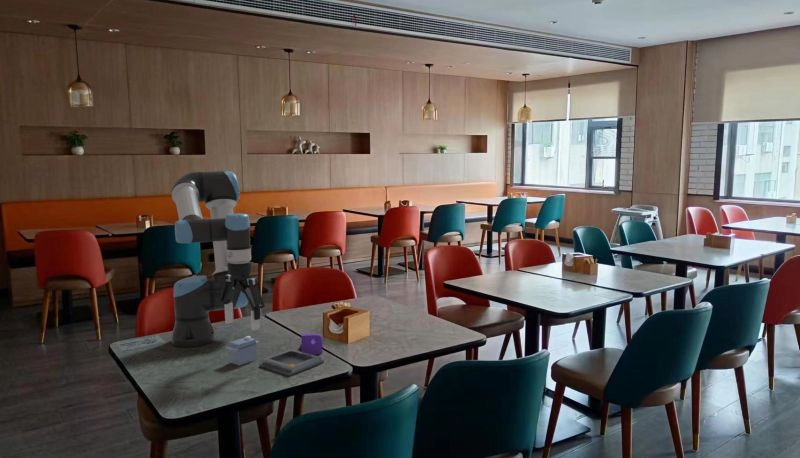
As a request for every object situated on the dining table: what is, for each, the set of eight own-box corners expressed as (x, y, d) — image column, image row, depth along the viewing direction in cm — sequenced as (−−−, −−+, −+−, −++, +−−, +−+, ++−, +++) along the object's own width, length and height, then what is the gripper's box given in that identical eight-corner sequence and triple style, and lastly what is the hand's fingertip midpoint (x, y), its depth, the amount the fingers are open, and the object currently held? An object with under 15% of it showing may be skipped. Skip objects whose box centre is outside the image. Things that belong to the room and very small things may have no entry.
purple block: (322, 354, 205) (321, 334, 204) (302, 355, 204) (301, 335, 203) (321, 343, 217) (321, 325, 216) (302, 344, 216) (301, 326, 215)
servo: (226, 364, 196) (225, 340, 195) (251, 355, 204) (250, 333, 203) (235, 366, 193) (234, 343, 192) (260, 358, 201) (259, 335, 200)
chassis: (259, 366, 193) (259, 358, 192) (294, 354, 204) (294, 346, 204) (289, 376, 184) (288, 367, 184) (323, 362, 196) (323, 354, 196)
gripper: (206, 260, 199) (209, 322, 201) (254, 267, 184) (257, 334, 186) (225, 257, 205) (228, 317, 207) (274, 263, 190) (276, 329, 192)
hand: (242, 326), depth 197 cm, fingers open, 13 cm apart
